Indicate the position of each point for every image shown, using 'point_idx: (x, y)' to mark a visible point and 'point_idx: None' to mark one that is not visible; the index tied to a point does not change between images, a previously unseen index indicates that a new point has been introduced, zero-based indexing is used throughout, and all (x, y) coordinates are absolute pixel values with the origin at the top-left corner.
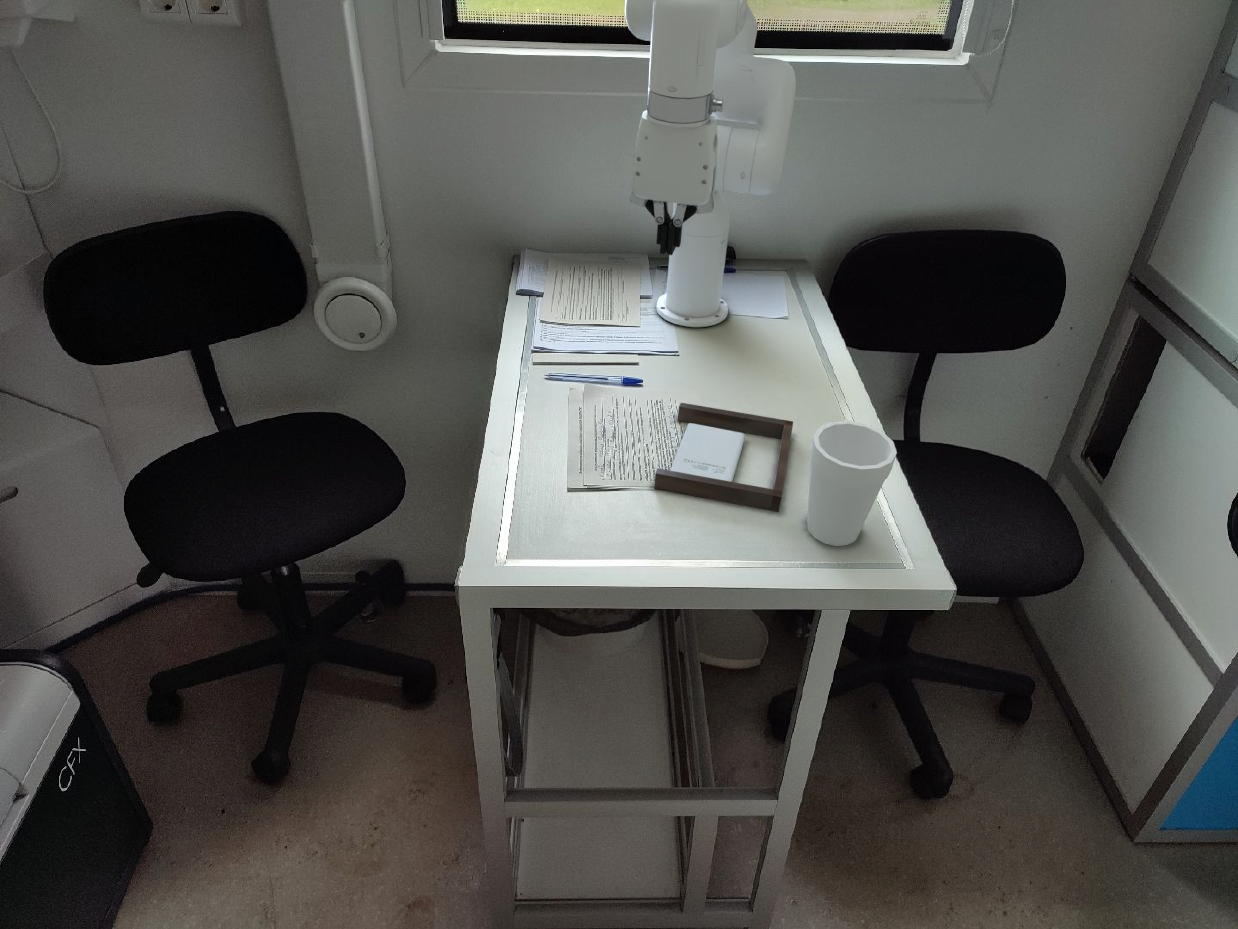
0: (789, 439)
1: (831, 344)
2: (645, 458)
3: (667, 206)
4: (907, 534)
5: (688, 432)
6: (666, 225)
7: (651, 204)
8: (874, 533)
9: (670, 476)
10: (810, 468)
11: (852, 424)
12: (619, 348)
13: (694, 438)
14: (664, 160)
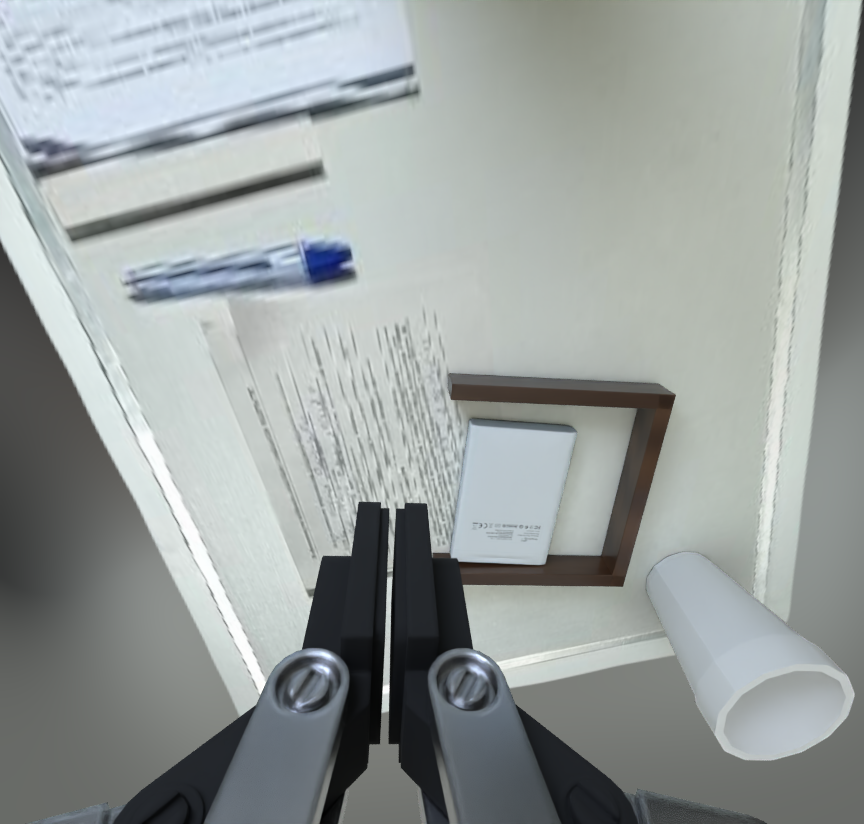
0: (658, 452)
1: None
2: None
3: (334, 753)
4: (777, 566)
5: (474, 454)
6: (370, 740)
7: None
8: (733, 574)
9: None
10: (686, 657)
11: (800, 670)
12: (251, 90)
13: (486, 468)
14: None
